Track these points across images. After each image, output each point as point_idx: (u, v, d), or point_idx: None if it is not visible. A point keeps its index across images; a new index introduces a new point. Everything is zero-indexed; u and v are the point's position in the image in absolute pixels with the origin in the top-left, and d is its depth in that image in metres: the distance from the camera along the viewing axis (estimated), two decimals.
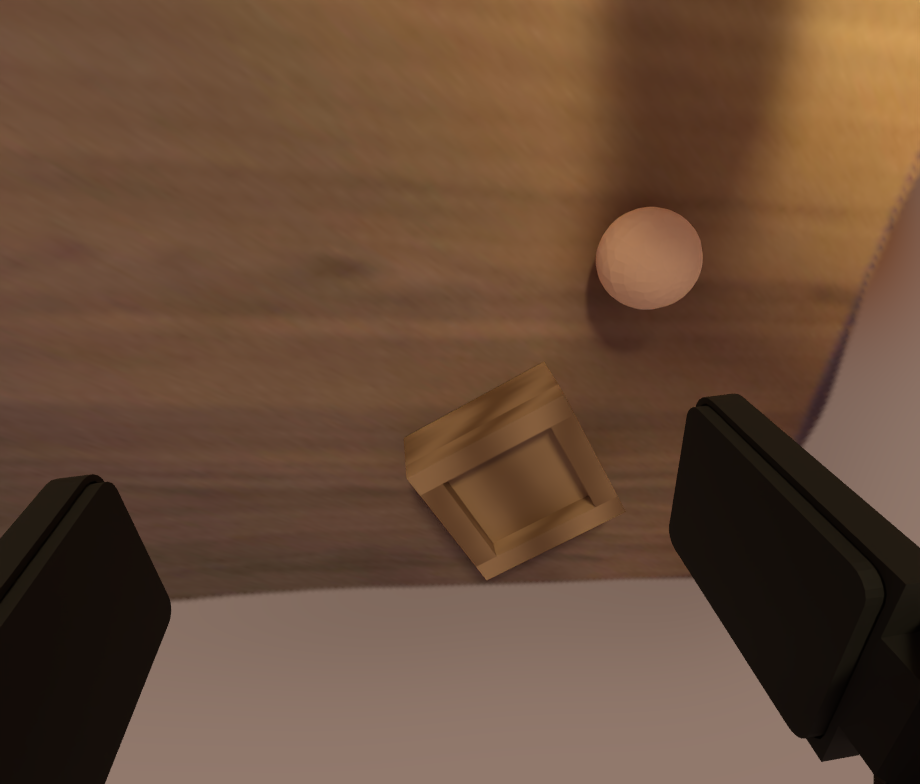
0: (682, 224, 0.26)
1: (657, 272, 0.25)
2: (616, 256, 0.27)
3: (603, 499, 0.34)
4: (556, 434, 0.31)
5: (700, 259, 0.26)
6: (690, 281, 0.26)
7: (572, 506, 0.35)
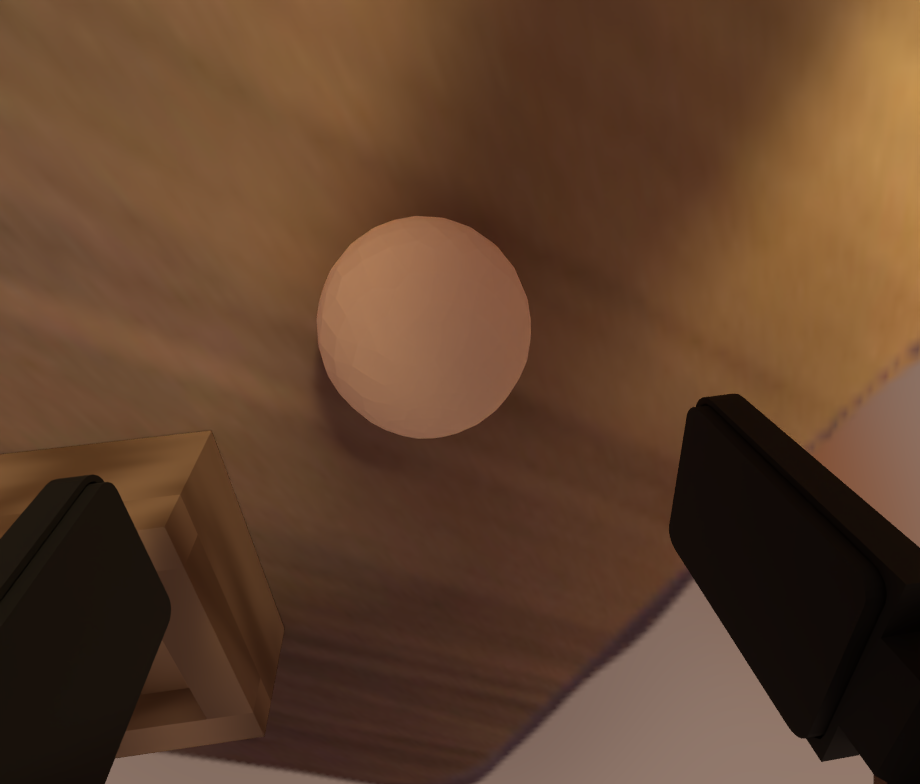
0: (500, 285, 0.11)
1: (396, 366, 0.10)
2: (339, 292, 0.11)
3: (224, 711, 0.18)
4: None
5: (507, 376, 0.12)
6: (467, 414, 0.11)
7: (176, 696, 0.19)
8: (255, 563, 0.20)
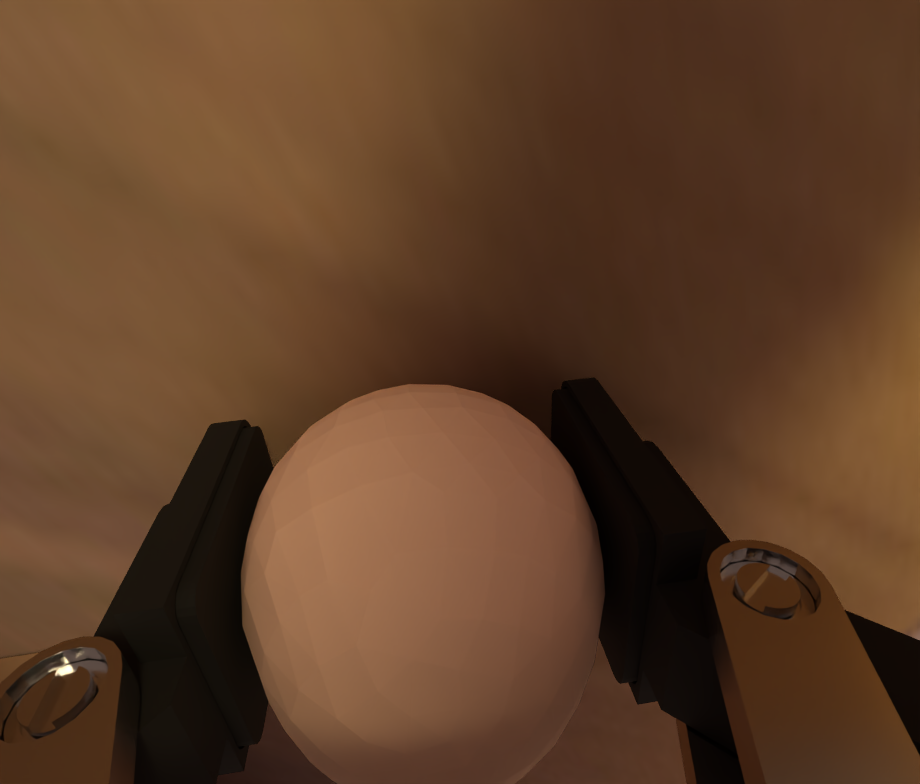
0: (562, 546, 0.06)
1: (373, 749, 0.05)
2: (271, 563, 0.06)
3: None
4: None
5: (577, 703, 0.06)
6: None
7: None
8: None
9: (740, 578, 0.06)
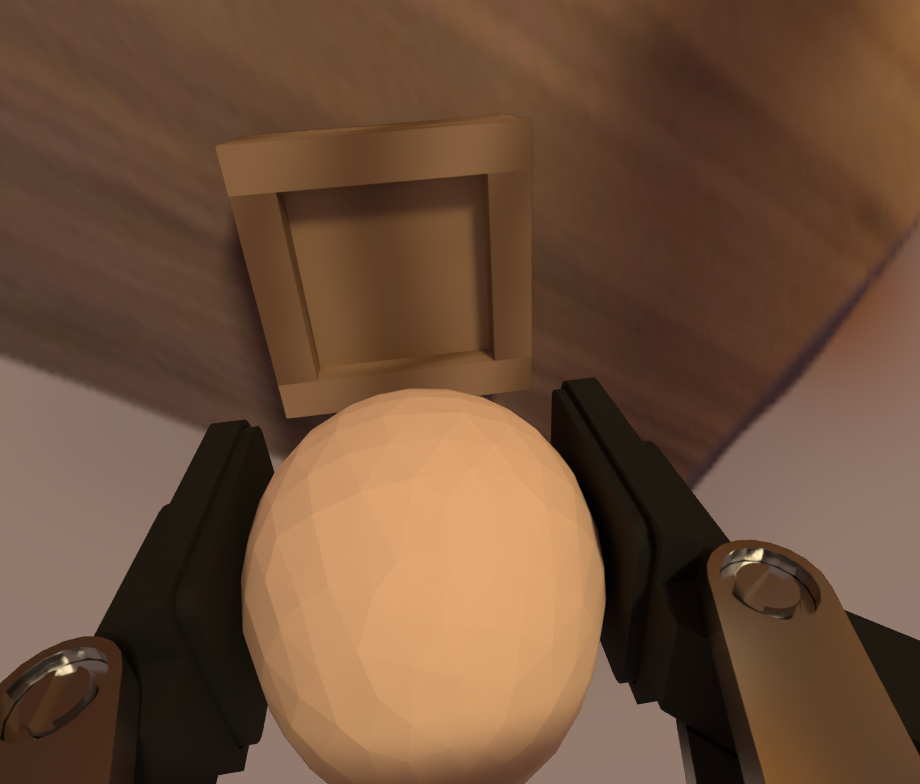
0: (564, 552, 0.06)
1: (373, 757, 0.05)
2: (272, 569, 0.06)
3: (510, 352, 0.22)
4: (490, 193, 0.19)
5: (578, 710, 0.06)
6: None
7: (460, 354, 0.22)
8: None
9: (740, 578, 0.06)
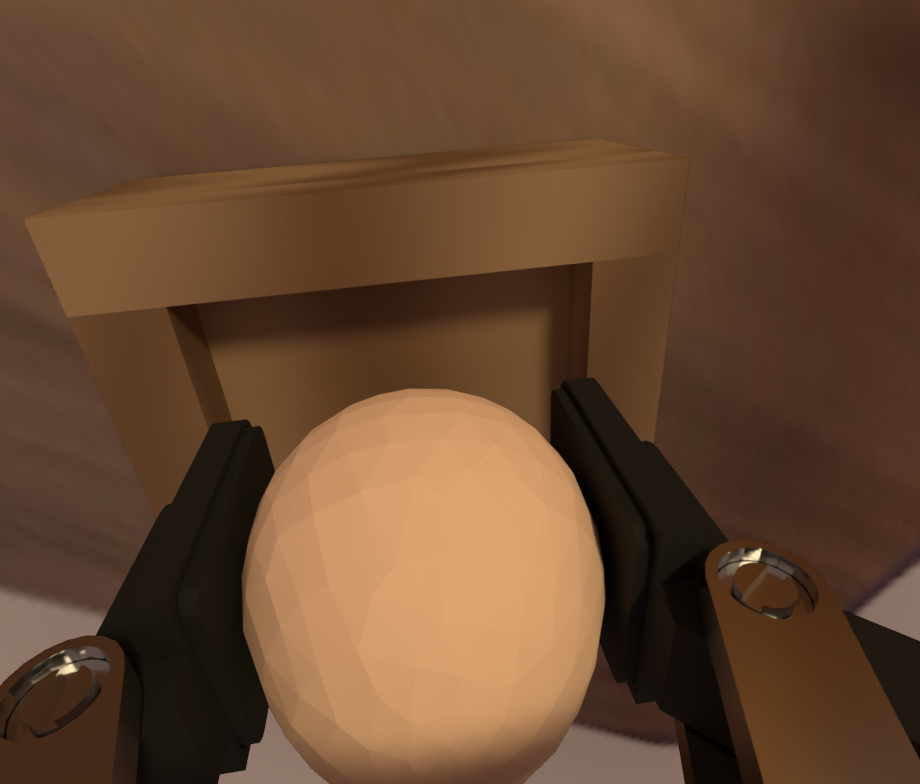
0: (562, 551, 0.06)
1: (374, 756, 0.05)
2: (272, 568, 0.06)
3: None
4: (595, 297, 0.10)
5: (578, 709, 0.06)
6: None
7: None
8: None
9: (738, 578, 0.06)
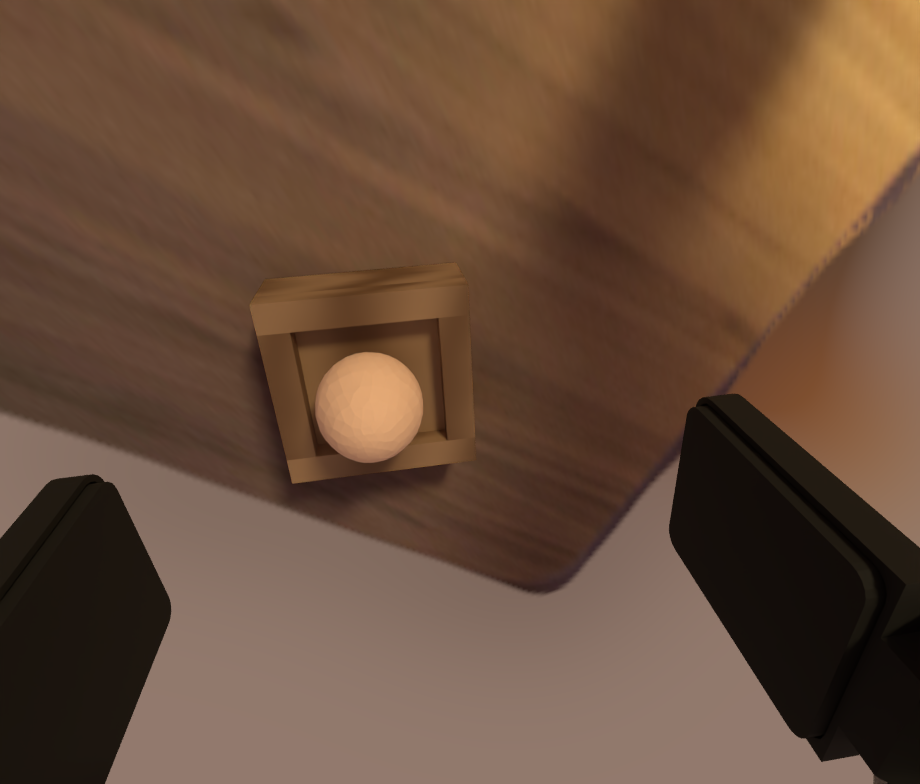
0: (403, 390, 0.24)
1: (353, 428, 0.23)
2: (327, 393, 0.24)
3: (459, 434, 0.29)
4: (441, 330, 0.27)
5: (406, 432, 0.24)
6: (386, 450, 0.24)
7: (422, 434, 0.30)
8: None
9: None
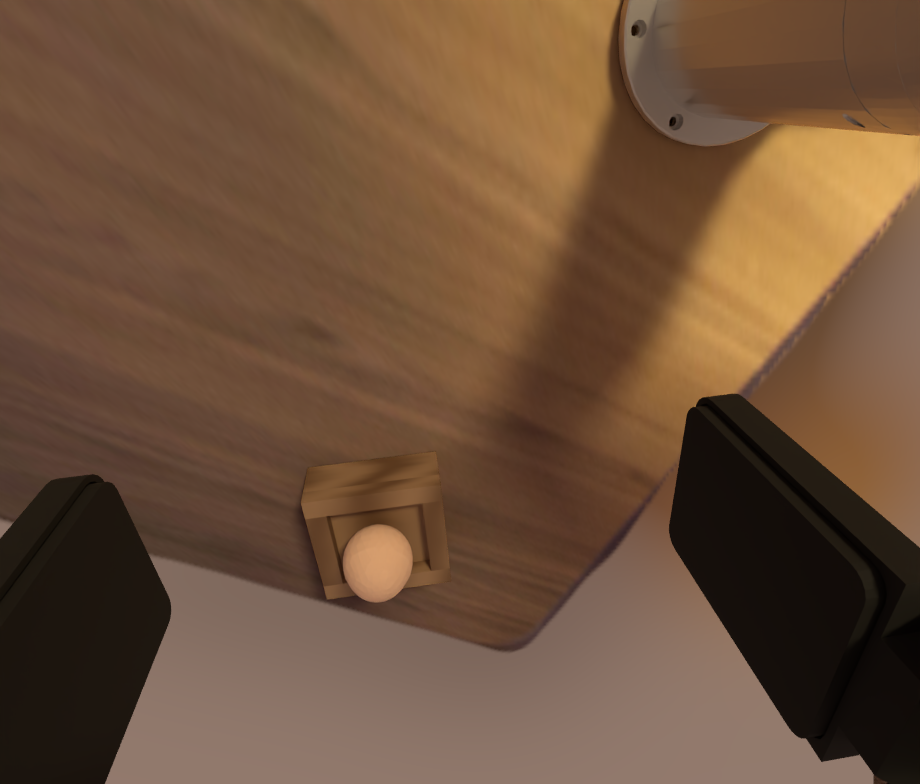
0: (398, 559, 0.38)
1: (367, 588, 0.37)
2: (351, 561, 0.38)
3: (438, 567, 0.43)
4: (424, 509, 0.40)
5: (401, 585, 0.38)
6: (388, 597, 0.38)
7: (414, 564, 0.44)
8: None
9: None
